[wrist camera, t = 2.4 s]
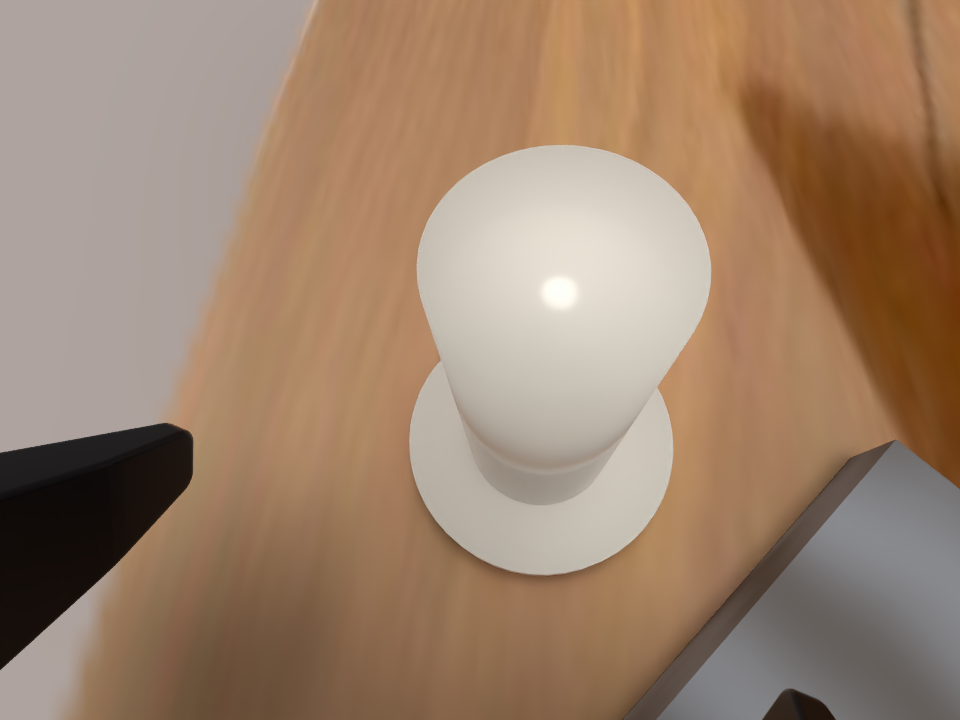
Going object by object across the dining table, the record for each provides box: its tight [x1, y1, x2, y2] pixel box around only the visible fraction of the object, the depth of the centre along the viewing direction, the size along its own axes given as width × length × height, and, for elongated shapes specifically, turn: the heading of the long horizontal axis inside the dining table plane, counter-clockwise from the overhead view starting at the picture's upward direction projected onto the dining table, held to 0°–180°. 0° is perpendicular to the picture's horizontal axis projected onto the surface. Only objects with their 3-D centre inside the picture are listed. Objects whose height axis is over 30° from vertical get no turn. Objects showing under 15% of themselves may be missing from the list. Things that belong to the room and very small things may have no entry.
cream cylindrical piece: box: [409, 145, 711, 576], centre depth 15 cm, size 8×8×12 cm
